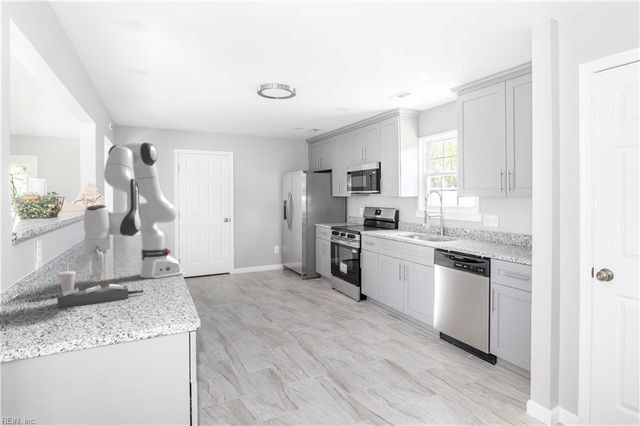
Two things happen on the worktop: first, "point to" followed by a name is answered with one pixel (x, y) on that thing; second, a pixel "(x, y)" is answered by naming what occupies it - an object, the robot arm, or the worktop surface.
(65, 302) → the power strip
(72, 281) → the smoothie
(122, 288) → the plate
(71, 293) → the block
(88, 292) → the rocker
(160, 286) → the worktop surface
